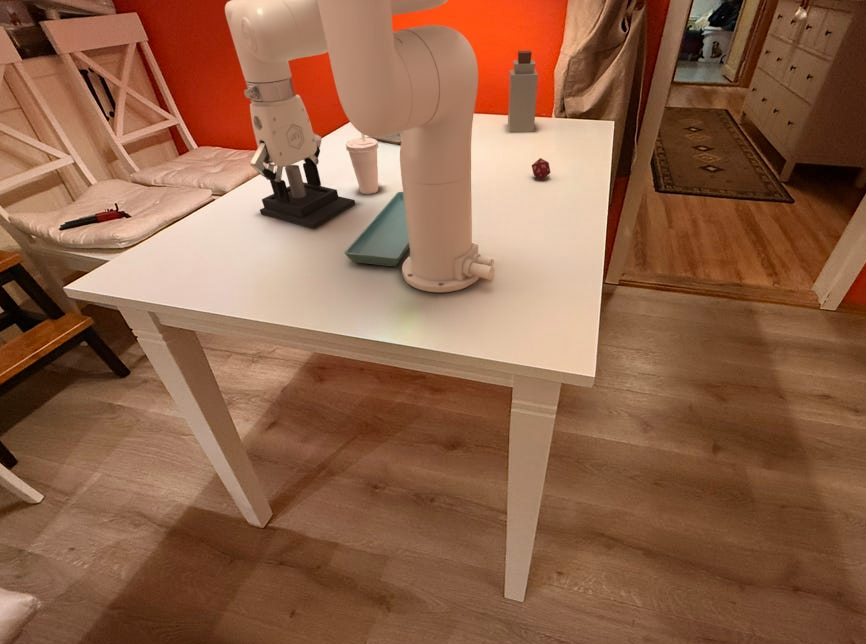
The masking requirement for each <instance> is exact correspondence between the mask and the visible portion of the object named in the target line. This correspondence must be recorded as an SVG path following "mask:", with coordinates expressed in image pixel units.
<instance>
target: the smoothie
mask: <svg viewBox="0 0 866 644" xmlns="http://www.w3.org/2000/svg"><path fill="white" fill-rule="evenodd" d="M360 134H361V137H358V138H353V139H350V140H348V141H347V142H345V149H346V151H347V152H348V154H349V159H350V161H351V165H352V167H353V172H354V174H355V177H356V180H357V184H358V187H359V190H360V193H361V194H364V195H372V194H375V193H377V192H378V191H379V172H378V171H379V170H378V168H379V167H378V148H379V144H378V140H376V139H374V138H372V137H366V135H364V134H362V133H361V132H360Z"/></svg>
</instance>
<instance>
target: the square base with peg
mask: <svg viewBox="0 0 866 644" xmlns="http://www.w3.org/2000/svg"><path fill="white" fill-rule="evenodd" d="M284 170H285V174H286V177H287V181H288V185H289V186H290V188H291V191H289V192H288V194H289V197H290V201H289V202H285V203H289V204H293V205H297V206H302V205H304V204H306V203H308V202H309V201H311V200H313V199H315V198H317V197H319V196H321V195H323V194H325V192H320V191H316V190H312V189H307V188H304V184H303V182H304V180H303V176H302V172H301V170H300V166H299V165H298V164H292V165H289V166H287V167H284ZM274 200H277V199H276V198H275V199H274ZM277 201H279V200H277ZM281 202H283V201H281Z"/></svg>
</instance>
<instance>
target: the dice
mask: <svg viewBox="0 0 866 644" xmlns="http://www.w3.org/2000/svg"><path fill="white" fill-rule="evenodd" d="M531 169H532V174H533V176H534V177H536V178H538V179H539V180H541V181H543V180H544V179H545V178H546V177H547V176H549V175H551V169H550V163H549V161H547V160H545V159H544V158H541V157H539V158H538V160H536V161H535V162H534V163H532V164H531Z"/></svg>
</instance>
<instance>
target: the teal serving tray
mask: <svg viewBox="0 0 866 644" xmlns="http://www.w3.org/2000/svg"><path fill="white" fill-rule="evenodd" d="M408 249H410V248H409V239H408V230H407V221H406V213H405V204H404V195H403V191H397V192H396V193H395V195H394V196H393V197H392V198H391V199H390V200H389V202H388V203H387V204H386V205H385V206H384V207H383V208H382V210H381V211H380V212H379V213H378V214H377V216H375V217H374V219H373V220H372V221H371V222H370V223H369V224H368V225H367V227H366V228H365V229H364V230H363V231H362V232H361V233H360V234H359V235H358V236H357V238H356V239H355V240H354V241H353V242H352V243H351V244H350V245H349V247H347V249H346V250H345V251H344V254H345V255H346V257H347V258H349V259H350V260H351V261H352V262H353V263H355V264H357V263H358V264H366V265H367V264H368V265H376V266H386V267H397V265H398V263H400V261H401V259H402V258H403V256H404V255H405V254H406V253H407V251H408Z"/></svg>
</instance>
